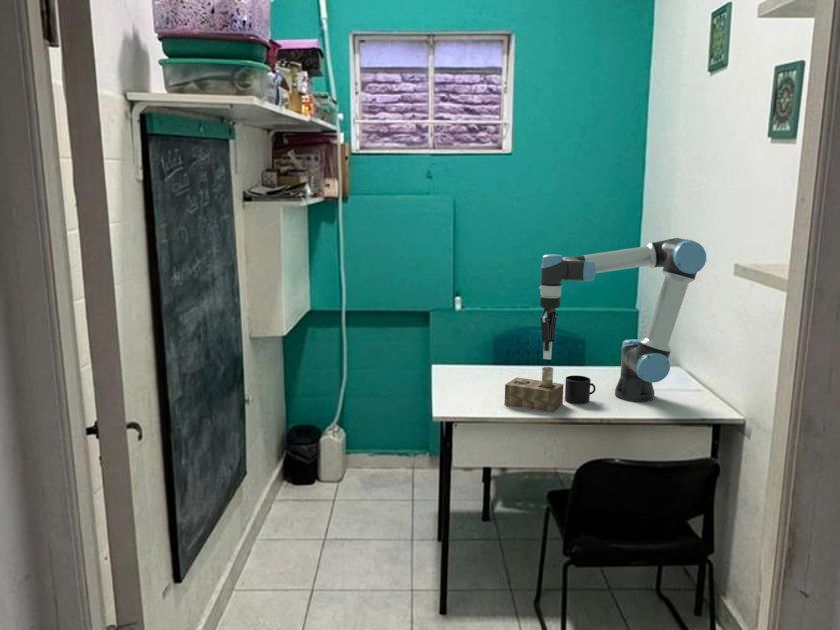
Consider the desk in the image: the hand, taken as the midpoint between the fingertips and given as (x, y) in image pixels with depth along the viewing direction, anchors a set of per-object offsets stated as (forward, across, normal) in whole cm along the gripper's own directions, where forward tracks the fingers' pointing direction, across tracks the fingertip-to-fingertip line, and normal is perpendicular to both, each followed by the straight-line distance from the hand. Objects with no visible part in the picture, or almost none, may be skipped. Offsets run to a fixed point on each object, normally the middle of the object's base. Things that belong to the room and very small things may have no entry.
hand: (547, 358), depth 260 cm
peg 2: (+12, 0, 0) cm, 12 cm away
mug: (+19, -14, +10) cm, 25 cm away
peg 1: (+18, 0, -10) cm, 20 cm away
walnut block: (+19, 0, -4) cm, 19 cm away
